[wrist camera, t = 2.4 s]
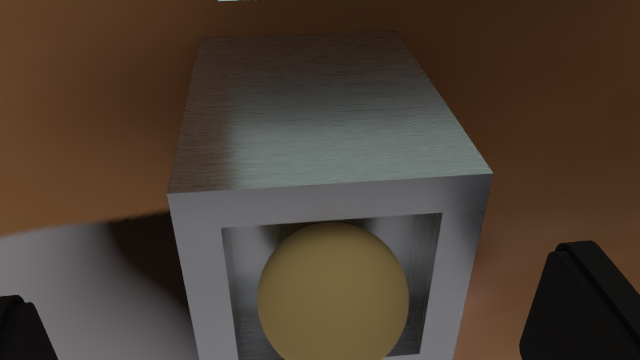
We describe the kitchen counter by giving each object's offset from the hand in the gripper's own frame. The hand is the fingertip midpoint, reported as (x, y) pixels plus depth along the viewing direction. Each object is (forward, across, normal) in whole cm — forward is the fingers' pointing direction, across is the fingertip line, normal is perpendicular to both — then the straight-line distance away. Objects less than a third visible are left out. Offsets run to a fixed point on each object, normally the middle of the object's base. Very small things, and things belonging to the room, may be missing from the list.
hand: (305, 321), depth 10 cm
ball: (+1, -1, 0) cm, 1 cm away
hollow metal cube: (+8, -1, 0) cm, 8 cm away
